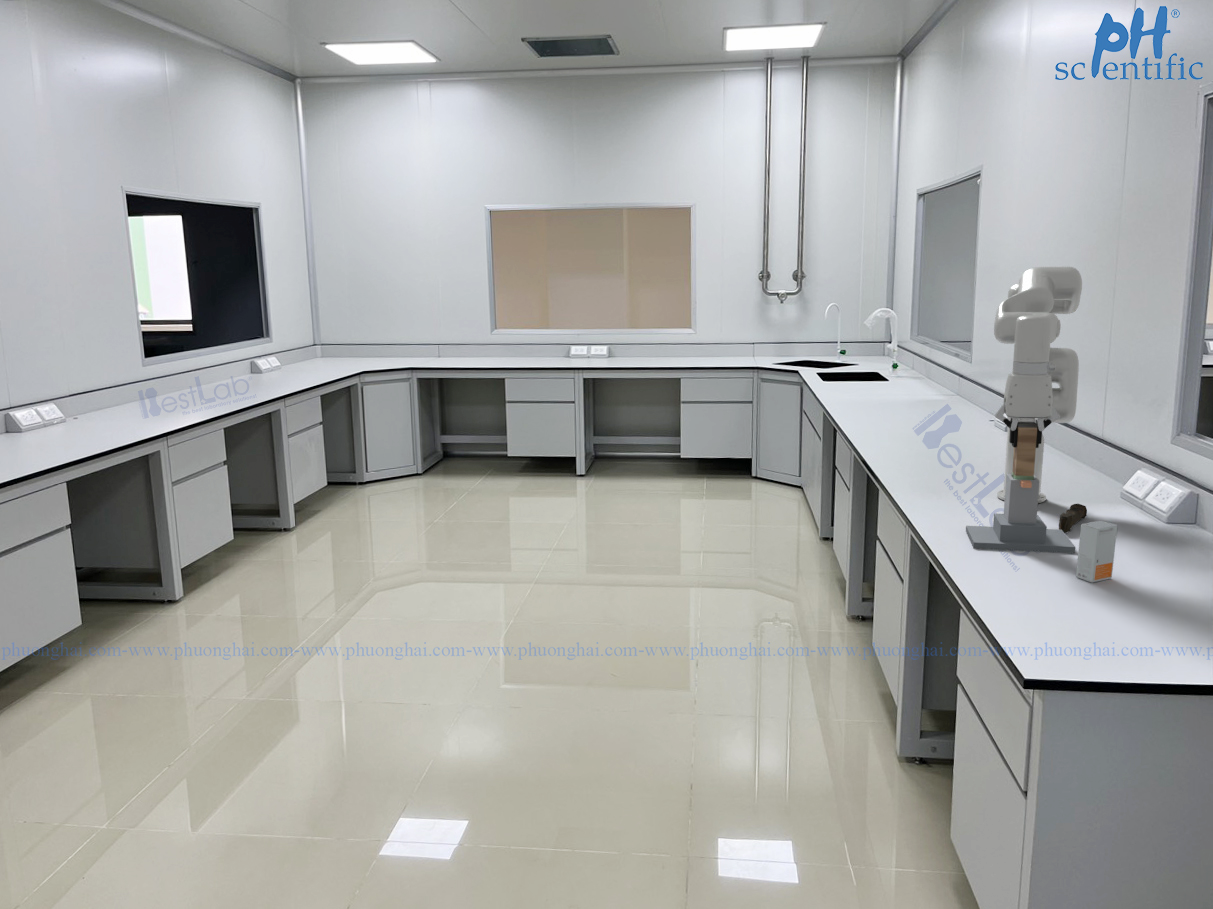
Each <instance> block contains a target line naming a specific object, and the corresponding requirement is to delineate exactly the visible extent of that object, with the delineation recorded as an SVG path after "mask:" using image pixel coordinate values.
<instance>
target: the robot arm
mask: <svg viewBox="0 0 1213 909" xmlns="http://www.w3.org/2000/svg"><path fill="white" fill-rule="evenodd" d="M1082 289H1083V280H1082V275H1081V273H1080V271H1079V270H1078V269H1077V268H1076V267H1073V266H1036V267H1032V268H1029V269H1027V270H1025V271H1023V273H1022V274H1021V275H1020V278H1019V280H1018V283H1016V284H1013V285H1012V286H1010V288H1009V289H1008V293H1007V298H1006V299H1005V300H1002V302H1001V303H1000V304H999V306H998V307H997V310H996V312H995V318H994V324H993V332H994V333H993V334H994V337H995V339H996V340H997V342H998V343H1000V344H1004V345H1005V344H1007V345H1008V344H1010V345H1013V346H1014V347H1013V360H1012V361H1013V362H1012V372H1011V373H1009V374H1008V375H1007V378H1006V383H1005V388H1004V394H1003V396H1004V397H1003V403H1002V405H1001V407H999V408H998V411H996V413H995V414H994V417H995V419H997V420H999V421H1000V422H1002V423H1003V424H1004V425H1005V426H1006V428H1007V431H1006V449H1005V462H1004V476H1003V477H1004V478H1003V489H1001V490H999V491H997V495H996V497H997V498H999V500H1001V501H1004V502H1005V488H1006V474H1012V470H1013V455H1014V447H1017V438H1018V431H1017V428H1016V427H1017V423H1018V421H1034V422H1035V423H1036V424H1038V425H1037V439H1036V452H1035V466H1034V475H1035V476H1036V477H1037V479H1038V480H1039V494H1038V504H1041V503H1044V502H1046V501H1047V495H1046V494H1045V493H1042V492H1041V489H1042V476H1043V464H1044V452H1045V451H1044V448H1045V436H1044V434H1043V431H1045V429H1046V428H1048V426H1049V425H1051V424H1052V423H1054V424H1066V423H1068V424H1069V423H1070V422H1072V421H1073V419H1075V415H1076V412H1077V400H1078V387H1079V386H1078V385H1079V370H1080V368H1079V367H1080V366H1079V356H1078V353H1077V352H1076V351H1075V350H1074V349H1072V348H1067V347H1051V344H1052V343H1054V342H1055V341H1056V339H1057V338H1058V337H1059V336H1060V333H1061V320H1060V319H1059V318H1058V316H1057V315H1070V314H1074V312H1076V311H1077V309H1078V308H1079V305H1080V300H1081V295H1082ZM1053 384H1057V385H1058V387H1053ZM1004 414H1005V415H1006V417H1005V415H1004Z"/></svg>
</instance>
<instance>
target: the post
mask: <svg viewBox="0 0 1213 909" xmlns="http://www.w3.org/2000/svg"><path fill="white" fill-rule="evenodd" d="M1037 425H1038V424H1036V423H1035V422H1034V421H1018V423H1017V427H1016V428H1017V431H1018V438H1017V447H1014V455H1013V470H1012V477H1013V479H1020V480H1034V466H1035V452H1036V439H1037Z"/></svg>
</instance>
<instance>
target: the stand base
mask: <svg viewBox="0 0 1213 909" xmlns="http://www.w3.org/2000/svg"><path fill="white" fill-rule="evenodd" d="M1038 494H1039V480H1038V479H1037V477H1036V476H1035V475H1034V480H1020V479H1013V477H1012V474H1006V488H1005V501H1004V506H1003V513H995V512H994V513H993V520H992V522H993V524H992V526H988V525H987V526H985V525H984V526H983V525H982V526H981V525H966V526H965V533H966V535H967V537H968V539H969V541H970V544H971V546H972V548H973V549H978V550H998V551H999V550H1001V551H1019V552H1040V553H1041V552H1042V553H1061V554H1062V553H1063V554H1075V553H1076V545H1075V544H1074V543H1073V542H1072V541H1071V540H1070V538H1069V537H1068V536H1067V533H1064V532H1063V531H1062V530H1059V528H1057V529H1056V528H1055V529H1053V528H1052V529H1051V528H1047V525H1046V524H1045V523H1044V521H1043V519H1042V518H1041V517H1040V516H1039V515H1038V504H1039V503H1038Z"/></svg>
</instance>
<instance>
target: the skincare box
mask: <svg viewBox="0 0 1213 909" xmlns="http://www.w3.org/2000/svg"><path fill="white" fill-rule="evenodd" d="M1117 532H1118V524H1114V523H1112V522H1108V521H1104V520H1096V521H1090V522H1088V523H1086V522H1085V523H1082V524H1081V525H1080V533H1079V534H1080V535H1079V543H1078V544H1079V545H1078V555H1077V563H1076V571H1075V572H1076V574H1075V577H1076V578H1078V579H1080V580H1084V581H1087V582H1090V583H1097V582H1101V581H1105V580H1112V579H1113V571H1114V570H1113V569H1114V561H1115V560H1114V559H1115V550H1116V540H1117V534H1118V533H1117Z"/></svg>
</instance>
